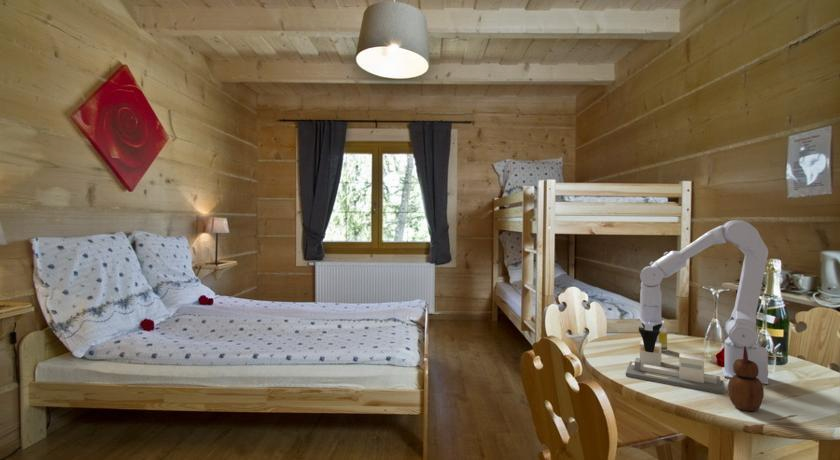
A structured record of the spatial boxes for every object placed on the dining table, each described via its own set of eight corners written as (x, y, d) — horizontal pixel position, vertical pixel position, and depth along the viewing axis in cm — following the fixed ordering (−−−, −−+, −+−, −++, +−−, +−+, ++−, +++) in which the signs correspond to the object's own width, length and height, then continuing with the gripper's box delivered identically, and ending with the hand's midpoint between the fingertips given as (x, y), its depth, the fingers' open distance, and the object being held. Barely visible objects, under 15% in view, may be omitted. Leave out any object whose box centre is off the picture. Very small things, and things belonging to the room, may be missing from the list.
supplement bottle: (668, 348, 138) (668, 320, 137) (666, 353, 133) (666, 323, 133) (650, 346, 141) (650, 318, 141) (647, 349, 137) (647, 321, 136)
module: (661, 361, 125) (661, 342, 125) (660, 366, 121) (660, 347, 121) (641, 358, 128) (641, 340, 128) (639, 363, 124) (639, 344, 124)
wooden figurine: (751, 416, 90) (751, 350, 89) (723, 405, 95) (723, 343, 95) (768, 410, 92) (768, 346, 92) (740, 400, 98) (740, 339, 97)
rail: (719, 379, 110) (719, 354, 110) (722, 394, 101) (722, 366, 101) (630, 364, 123) (630, 341, 123) (625, 376, 114) (625, 351, 113)
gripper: (638, 299, 132) (638, 340, 133) (633, 307, 120) (633, 352, 121) (663, 302, 128) (663, 344, 129) (660, 310, 116) (660, 356, 117)
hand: (650, 348), depth 124 cm, fingers open, 7 cm apart
